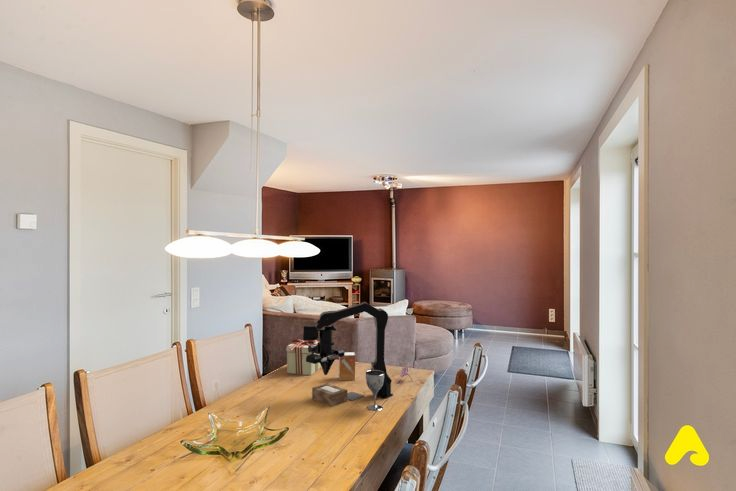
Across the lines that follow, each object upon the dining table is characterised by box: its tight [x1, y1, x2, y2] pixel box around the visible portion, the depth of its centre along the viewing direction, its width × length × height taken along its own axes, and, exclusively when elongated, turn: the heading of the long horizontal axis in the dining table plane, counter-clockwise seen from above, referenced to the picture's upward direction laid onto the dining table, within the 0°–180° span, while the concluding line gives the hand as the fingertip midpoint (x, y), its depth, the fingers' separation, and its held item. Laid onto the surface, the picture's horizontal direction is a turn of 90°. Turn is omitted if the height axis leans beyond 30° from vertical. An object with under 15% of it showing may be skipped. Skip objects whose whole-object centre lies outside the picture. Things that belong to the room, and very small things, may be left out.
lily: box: [396, 362, 413, 384], centre depth 217 cm, size 12×12×10 cm
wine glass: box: [365, 369, 384, 412], centre depth 181 cm, size 8×8×15 cm
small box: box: [338, 351, 356, 381], centre depth 220 cm, size 8×6×13 cm
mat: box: [347, 391, 365, 402], centre depth 194 cm, size 8×8×1 cm
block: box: [320, 386, 340, 393], centre depth 189 cm, size 9×4×2 cm, turn 48°
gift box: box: [285, 338, 322, 376], centre depth 233 cm, size 17×18×17 cm
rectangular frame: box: [311, 383, 348, 407], centre depth 189 cm, size 13×9×5 cm
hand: (325, 374), depth 191 cm, fingers closed
